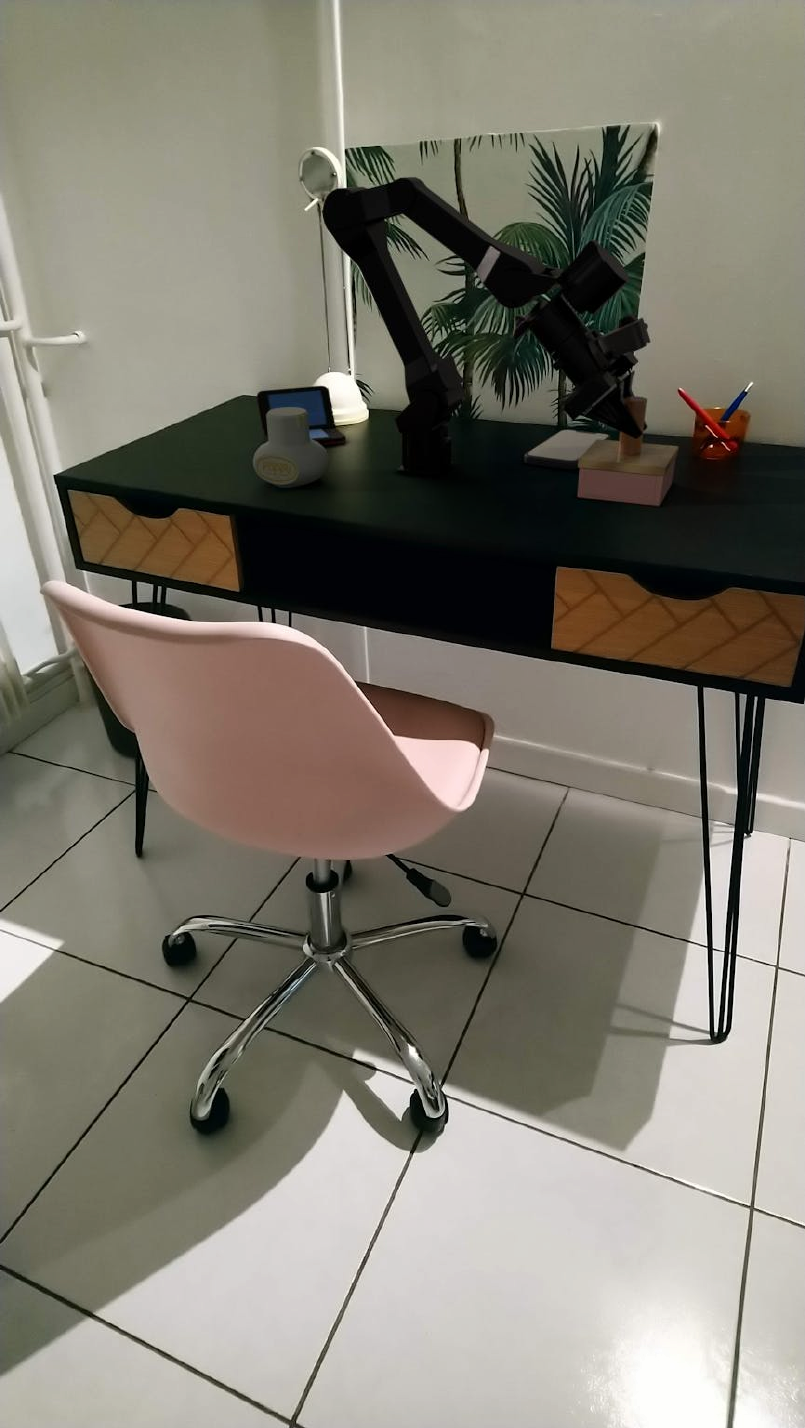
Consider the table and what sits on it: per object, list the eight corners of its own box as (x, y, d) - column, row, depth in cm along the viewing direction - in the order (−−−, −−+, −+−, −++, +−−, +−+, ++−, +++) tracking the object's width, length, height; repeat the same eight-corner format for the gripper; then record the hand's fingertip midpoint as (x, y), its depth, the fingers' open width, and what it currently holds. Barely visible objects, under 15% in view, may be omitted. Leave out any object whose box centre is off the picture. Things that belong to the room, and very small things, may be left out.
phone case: (575, 473, 132) (613, 444, 143) (576, 462, 131) (614, 434, 142) (520, 465, 136) (561, 438, 147) (521, 454, 135) (562, 428, 146)
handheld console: (273, 452, 144) (268, 404, 140) (259, 436, 153) (254, 391, 149) (347, 443, 147) (345, 397, 143) (330, 428, 156) (327, 384, 152)
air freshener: (245, 485, 129) (237, 415, 124) (275, 470, 135) (268, 402, 130) (311, 494, 125) (306, 421, 120) (339, 477, 132) (335, 407, 126)
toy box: (577, 497, 122) (579, 468, 119) (594, 476, 129) (597, 448, 127) (659, 506, 118) (663, 476, 116) (671, 484, 125) (675, 455, 123)
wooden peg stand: (577, 467, 119) (583, 404, 115) (595, 447, 127) (601, 387, 123) (664, 476, 115) (673, 411, 111) (677, 454, 123) (686, 393, 119)
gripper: (598, 304, 105) (681, 408, 107) (630, 285, 119) (702, 377, 121) (530, 370, 112) (608, 467, 114) (568, 345, 126) (637, 431, 128)
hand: (642, 433), depth 119 cm, fingers closed on wooden peg stand, 3 cm apart
